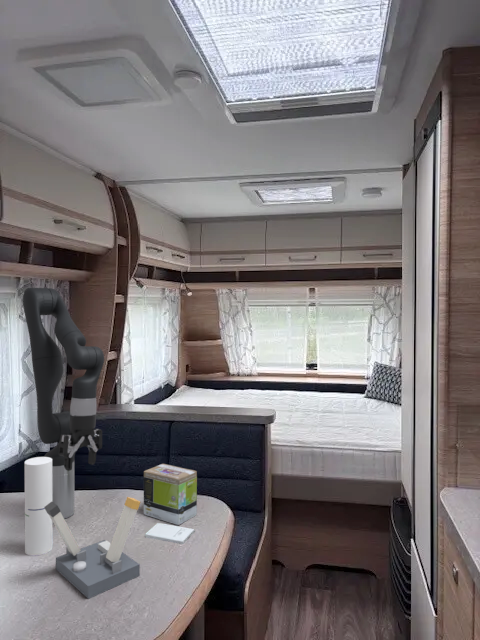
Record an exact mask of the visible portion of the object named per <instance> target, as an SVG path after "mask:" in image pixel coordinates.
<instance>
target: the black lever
mask: <svg viewBox="0 0 480 640" xmlns="http://www.w3.org/2000/svg"><path fill="white" fill-rule="evenodd" d="M44 508H45V510H46V512H47V513H48V514H49V516H50V518H51V520H52V524H53V525H54V527H55V529H56V530H57V532H58V534H59V536H60V538H61V540H62V542H63V543H64V545H65V548H66V547H67V549H68V551H69V552H70V553H71V554H72V555H74V556H77V553H79V552H80V551H81V548H80V546H79V544H78V542H77V540H76V538H75V536H74V535H73V533H72V531H71V529H70V527H69V525H68V523H67V522H66V519H64V518H63V516H62V514H61V511H60V509H59V507H58V505H56V504H55V503H54V502H50V503H49V504H48V505H46V506H45V507H44Z"/></svg>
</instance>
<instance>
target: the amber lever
mask: <svg viewBox="0 0 480 640" xmlns="http://www.w3.org/2000/svg"><path fill="white" fill-rule="evenodd" d="M140 505H141V501H140V500H138V499H136V498H133V497H129V496H127V497H126V499H125V502H124V506H123V510H122V511H121V513H120V517H119V520H118V523H117V525H116V529H115V531H114V533H113V536H112V538H111V542H110V543H111V544H110V547H109V549H108V552H107V555H106V558H105V560H104V561H105V562H106V563H107V564H109V565H110V566H111V567H112V563H114V562H117V561H119V559H120V556H121V554H122V552H124V551H123V550H124V548H125V544H126V542H127V539H128V538H129V537H128V536H129V534H130V531H131V529H132V528H131V527H132V525H133V523H134V520H135V517H136V514H137V511H138V510H139V507H140Z"/></svg>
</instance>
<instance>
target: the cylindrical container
mask: <svg viewBox="0 0 480 640" xmlns="http://www.w3.org/2000/svg"><path fill="white" fill-rule="evenodd" d="M50 502H52V458H49V457H44V456H36V457H31V458H28V459H26V460H25V461H24V553H25V555H27V556H31V557H33V556H34V557H36V556H42V555H45V554H47V553H49V552H50V551H52V549H53V548H54V547H53V546H54V545H53V544H54V543H53V521H52V520H51V518H50V516H49V514H48V513H47V512H46V510H45V508H44V507H45V506H46V505H48V504H49V503H50Z"/></svg>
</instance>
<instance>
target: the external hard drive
mask: <svg viewBox="0 0 480 640" xmlns="http://www.w3.org/2000/svg"><path fill="white" fill-rule="evenodd" d="M195 532H196V530H195V529H194V528H190V527H189V528H188V527H185V526H179V525H174V524H166V523H162V522H157V523H156V524H155V525H154V526H152V527H151V528H150V529H149V530H148V531H147V532H146V533H145V534H144V538H147V539H152V540H159V541H163V542H164V541H165V542H170V543H175V544H181V545H184V544H186V542H187V541H188V540H189V538H191V536H192V535H193V534H195Z"/></svg>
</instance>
